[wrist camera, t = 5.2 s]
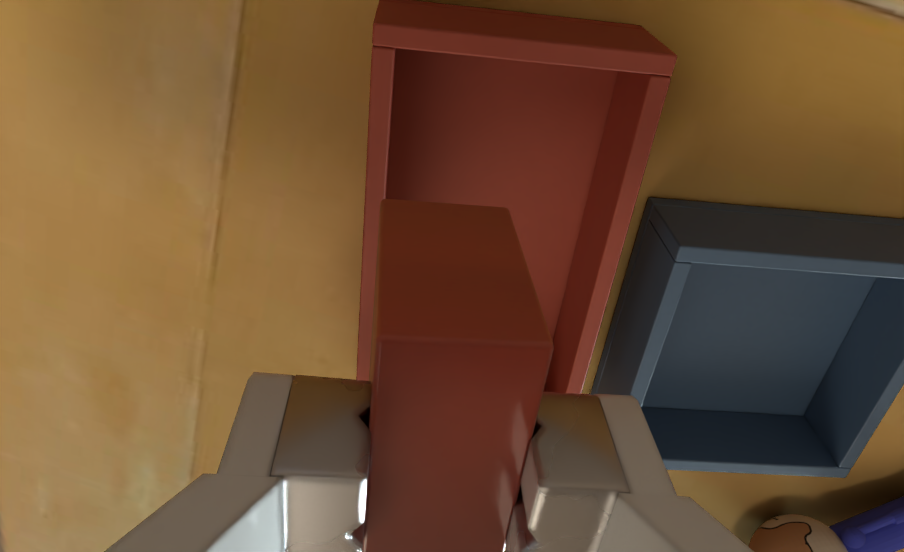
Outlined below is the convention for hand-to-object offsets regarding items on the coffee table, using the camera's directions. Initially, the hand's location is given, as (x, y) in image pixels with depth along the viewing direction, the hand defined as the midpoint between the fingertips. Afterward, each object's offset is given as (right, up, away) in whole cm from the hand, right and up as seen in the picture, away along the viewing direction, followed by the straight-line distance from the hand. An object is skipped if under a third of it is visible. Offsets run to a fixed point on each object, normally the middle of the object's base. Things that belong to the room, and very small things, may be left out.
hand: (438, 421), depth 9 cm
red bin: (+1, +4, +16) cm, 17 cm away
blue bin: (+12, 0, +19) cm, 22 cm away
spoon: (-1, -2, +4) cm, 4 cm away
